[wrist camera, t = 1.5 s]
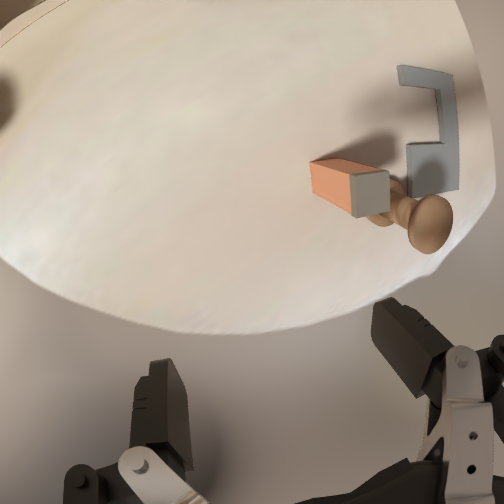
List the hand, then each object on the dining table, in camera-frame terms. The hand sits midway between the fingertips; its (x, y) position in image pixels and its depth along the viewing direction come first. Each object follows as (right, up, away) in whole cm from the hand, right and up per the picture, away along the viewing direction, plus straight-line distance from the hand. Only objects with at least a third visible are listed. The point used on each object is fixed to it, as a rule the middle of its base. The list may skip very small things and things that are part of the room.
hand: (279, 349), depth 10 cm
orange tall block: (+8, +13, +25) cm, 30 cm away
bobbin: (+18, +11, +28) cm, 35 cm away
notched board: (+27, +22, +25) cm, 43 cm away
